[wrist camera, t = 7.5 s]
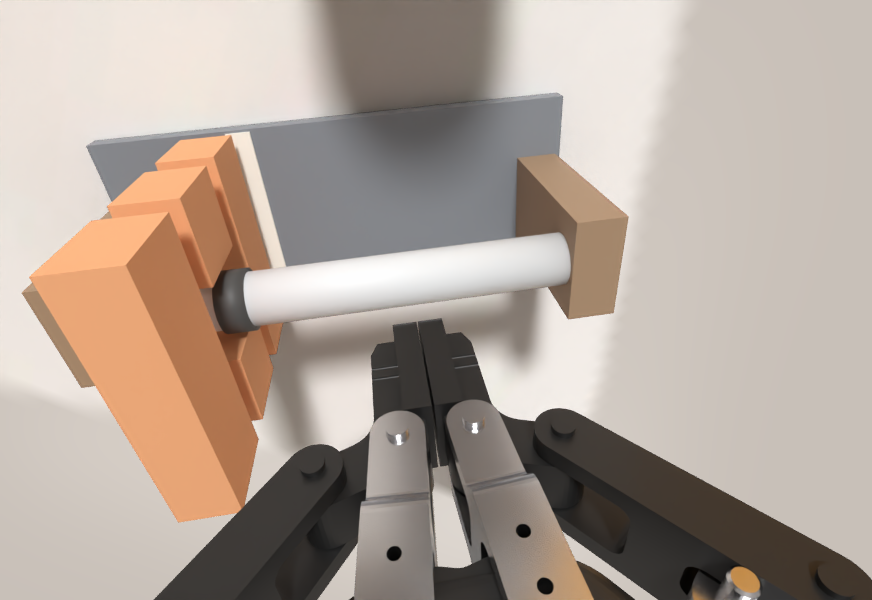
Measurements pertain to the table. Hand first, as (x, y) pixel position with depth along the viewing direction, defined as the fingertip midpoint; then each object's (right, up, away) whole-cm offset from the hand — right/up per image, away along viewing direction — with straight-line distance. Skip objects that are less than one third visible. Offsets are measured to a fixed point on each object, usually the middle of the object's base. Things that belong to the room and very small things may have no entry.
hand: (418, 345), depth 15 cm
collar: (-8, +4, +7) cm, 12 cm away
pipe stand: (-4, +6, +9) cm, 11 cm away
